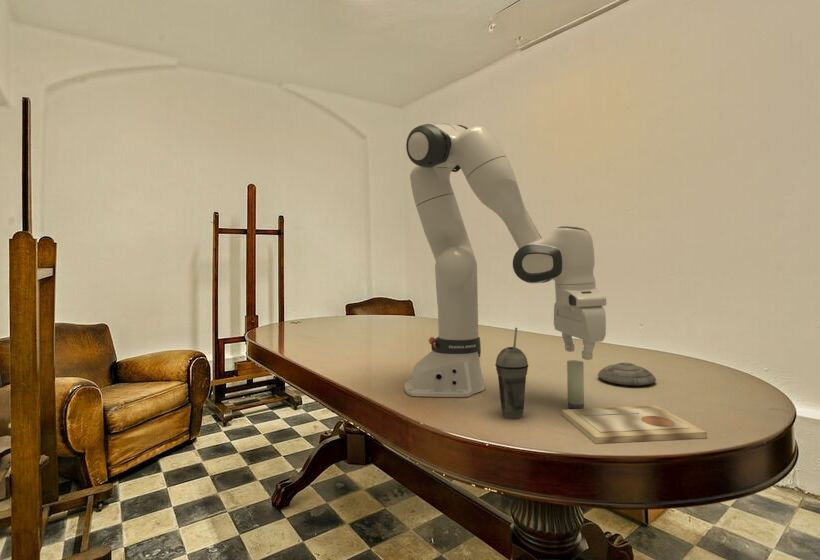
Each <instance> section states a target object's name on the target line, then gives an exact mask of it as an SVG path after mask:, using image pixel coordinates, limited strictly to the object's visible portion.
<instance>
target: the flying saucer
mask: <svg viewBox="0 0 820 560" xmlns="http://www.w3.org/2000/svg"><path fill="white" fill-rule="evenodd" d="M597 377H598V378H600V379H601V380H603V381H605V382H607V383H611V384H616V385H622V386H646V385H651V384H653V383H655V382H656V381H657V378H656V377H655V375H654V374H653V373H652V372H651V371H649V370H648V369H646V368H645V367H642V366H640V365H639V366H638V365H637V364H634V363H632V362H631V363H630V362H618V363H615V364H610V365H607V366H605V367H603V368H602V369H600V371H598V373H597Z"/></svg>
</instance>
